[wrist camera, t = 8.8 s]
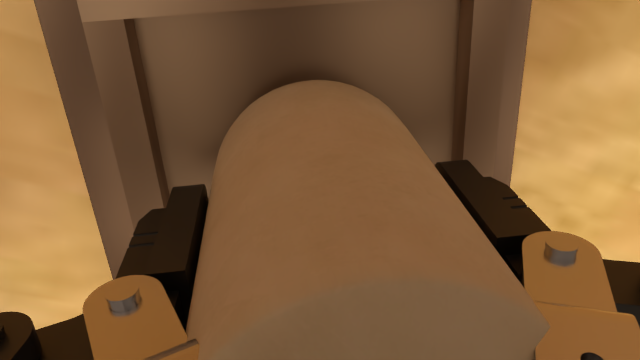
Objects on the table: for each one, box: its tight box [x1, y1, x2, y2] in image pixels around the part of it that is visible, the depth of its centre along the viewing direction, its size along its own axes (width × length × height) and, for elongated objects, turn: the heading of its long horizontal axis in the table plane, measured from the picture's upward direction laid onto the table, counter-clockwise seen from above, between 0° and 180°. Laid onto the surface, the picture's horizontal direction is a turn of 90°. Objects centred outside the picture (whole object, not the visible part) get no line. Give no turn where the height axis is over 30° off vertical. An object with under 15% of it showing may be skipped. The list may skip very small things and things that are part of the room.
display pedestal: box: [34, 0, 532, 280], centre depth 18 cm, size 16×14×5 cm
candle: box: [185, 80, 551, 360], centre depth 10 cm, size 6×6×10 cm
